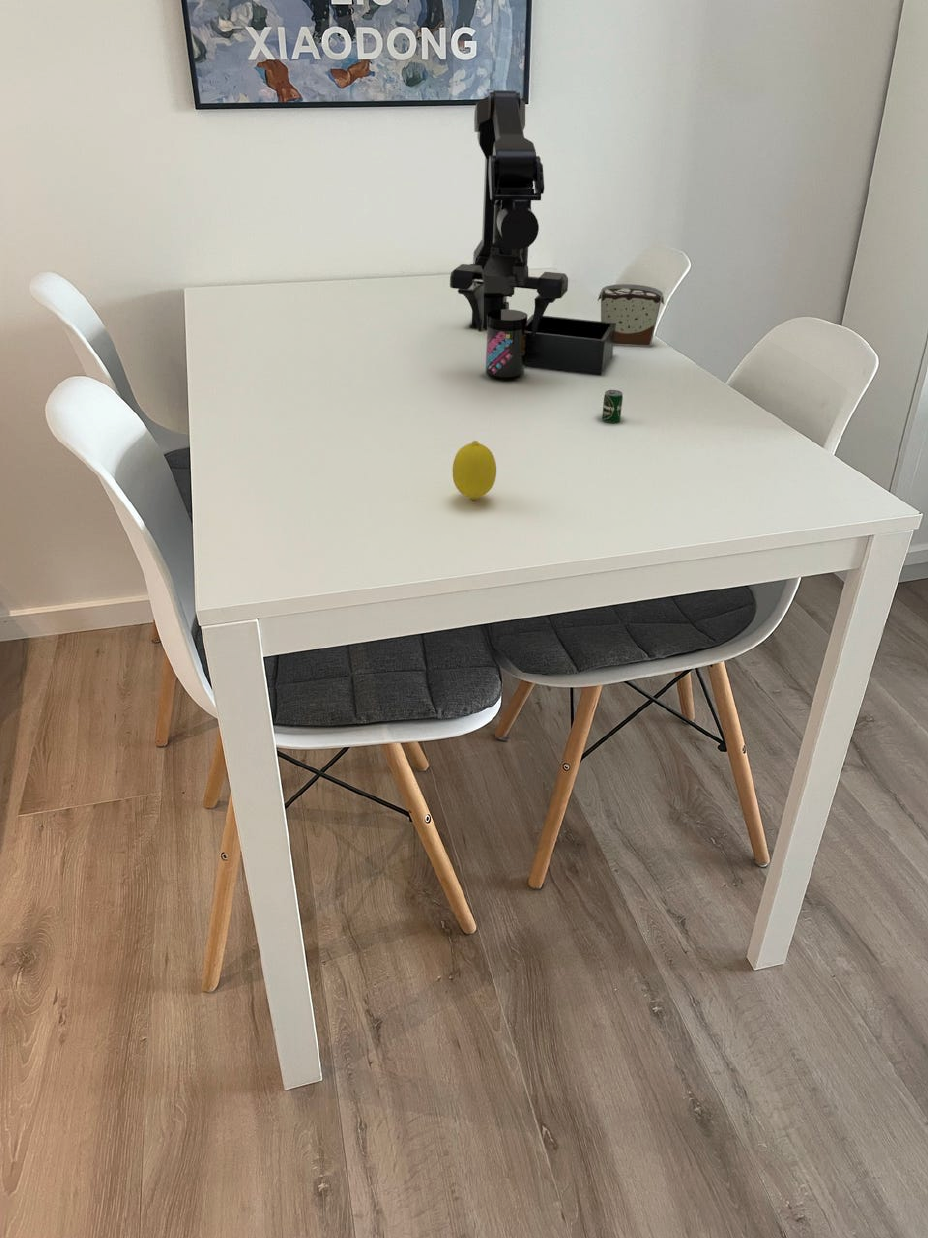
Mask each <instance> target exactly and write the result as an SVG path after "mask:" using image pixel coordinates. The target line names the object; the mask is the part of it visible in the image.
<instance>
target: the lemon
mask: <svg viewBox="0 0 928 1238" xmlns="http://www.w3.org/2000/svg"><path fill="white" fill-rule="evenodd" d="M496 477H497V465H496V460H495V456H494V453H493V452H492V451H491V449H490V448H489V447H487V446H486V445H485V444H483V443H480V442H478V441H477V440H473V441H472V442H470V443H466V444H465V445H463V446H462V447H460V448H459V450H458V451H457V452H456V454H455V457H454V460H453V463H452V480H453V483H454V486H455V488H456V489H457V491H458V492H459V493H460V494H462V495H463V496H465V497H468V498H469V499H470V500H471V501H476V500H478V499H479V498H481V497H483V496H486V495H487V494H488V493H489V492H490V491H491V489H493V487H494V484H495V481H496Z"/></svg>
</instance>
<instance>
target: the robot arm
mask: <svg viewBox="0 0 928 1238" xmlns="http://www.w3.org/2000/svg"><path fill="white" fill-rule="evenodd" d="M473 127H474V129H473V130H474V133H477V135H476V136H477V141H478V145H479V147H480V149H481V151H482V153H483V156H484V181H483V205H482V206H483V207H482V208H483V209H482V230H481V233H482V235H481V240H480V241H479V243H478V245H477V246H476V248H475V249H474V251H473V254H472V256H473V257H472V263H470V264H469V263H468V264H467V263H461V264H460V265H458V266H457V267H456V268H454V269H453V270H452V271H451V272H450V276H449V288H451V289H455V290H456V289H457V293H458V295H462V296H464V297H465V299H466V300H467V301H468V304H469V306H470V308H471V322H470V324H468V328H469V329H477V330H478V332H482V331H483V330H485V331H487V314H488V313H489V312H490V311H494V310H502V309H508V310H510V302H509V301H508V300H507V299H508V297H509V298H512V297H513V296H514V295H515V289H516V288H517V289H518V288H519V289H528V290H536V293H537V294H538V295H537V296H536V297H535V298H534V309H533V315H534V316H533V322H532V329H531V337H534V336H535V334H536V332H537V329H538V327H539V324H540V322H541V320H542V317H543V316H545V312H546V310H547V309H548V306H549V305H550V304H552V303H554V302H555V301H556V300H557V299H562V298H563V297H564V296H565V294H567V292H568V289H569V277H568V276H567V274H566V273H562V272H555V271H553V272H552V271H544V272H543V273H542V274H541V275H540V276H531V275H529V266H528V260H529V247H531V245H532V244H533V243H534V242H535V241H536V239H537V238H538V235H539V230H540V226H539V222H538V221H539V220H538V218H537V217H536V214H535V213H534V212H533V211H532V201H542V194H544V193H545V177H544V164H543V163H542V160H541V157H540V156H539V155H537V152H536V151H537V150H536V147H535V144H534V142H533V141H531V140H529V139H528V138H526V137H525V135H524V129H525V127H526V102H525V101H524V100H523V99H521V92H520V91H516V90H514V89H513V90H511V89H510V90H507V89H506V90H503V89H494V90H493V91H489V93H488V95H487V96H486V97H484V98H482V99H479V100H478V101H476V103H475V107H474V115H473Z"/></svg>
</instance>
